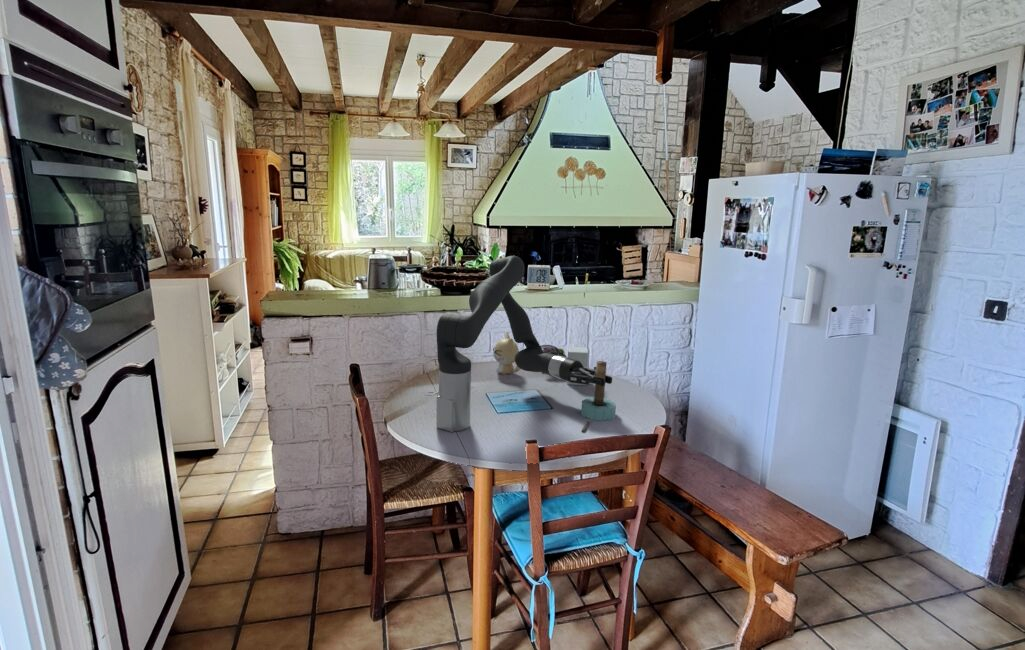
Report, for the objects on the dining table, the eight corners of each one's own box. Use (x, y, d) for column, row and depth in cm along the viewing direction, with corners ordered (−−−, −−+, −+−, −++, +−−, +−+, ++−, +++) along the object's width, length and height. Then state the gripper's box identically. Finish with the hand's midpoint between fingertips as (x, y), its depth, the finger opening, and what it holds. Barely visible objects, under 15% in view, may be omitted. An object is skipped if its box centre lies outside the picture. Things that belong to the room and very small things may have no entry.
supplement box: (585, 379, 212) (587, 347, 209) (586, 385, 205) (588, 352, 202) (566, 378, 213) (568, 346, 210) (566, 384, 205) (568, 351, 203)
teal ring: (605, 423, 171) (606, 412, 170) (575, 414, 177) (576, 404, 176) (620, 413, 179) (620, 402, 178) (590, 405, 185) (591, 395, 184)
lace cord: (584, 432, 163) (584, 430, 163) (581, 431, 164) (581, 429, 163) (589, 422, 171) (590, 420, 170) (587, 422, 171) (587, 420, 171)
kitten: (489, 367, 224) (490, 330, 220) (514, 366, 225) (515, 330, 222) (495, 378, 209) (496, 340, 206) (521, 378, 211) (523, 339, 208)
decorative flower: (570, 355, 209) (536, 338, 215) (556, 383, 210) (524, 365, 216) (581, 356, 222) (550, 340, 228) (569, 383, 223) (538, 366, 229)
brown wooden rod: (600, 407, 175) (603, 364, 172) (592, 404, 177) (595, 362, 174) (604, 404, 178) (608, 362, 175) (596, 402, 179) (599, 360, 176)
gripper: (551, 361, 180) (595, 374, 168) (579, 354, 189) (622, 366, 177) (550, 383, 181) (593, 398, 169) (577, 375, 191) (620, 388, 179)
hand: (607, 381), depth 174 cm, fingers closed on brown wooden rod, 3 cm apart
